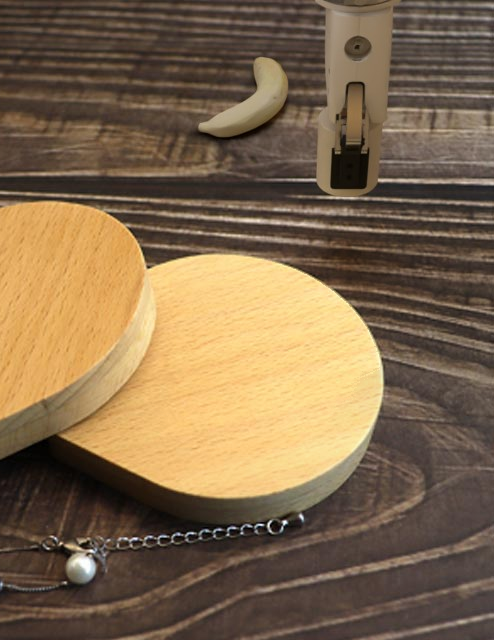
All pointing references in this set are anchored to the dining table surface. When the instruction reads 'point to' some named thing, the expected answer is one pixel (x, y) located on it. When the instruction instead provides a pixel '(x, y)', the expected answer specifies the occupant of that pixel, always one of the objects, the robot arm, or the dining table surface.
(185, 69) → the dining table surface
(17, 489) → the dining table surface
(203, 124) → the fruit
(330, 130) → the paper roll
